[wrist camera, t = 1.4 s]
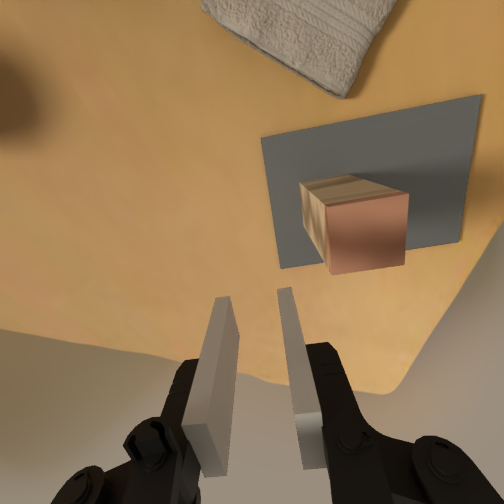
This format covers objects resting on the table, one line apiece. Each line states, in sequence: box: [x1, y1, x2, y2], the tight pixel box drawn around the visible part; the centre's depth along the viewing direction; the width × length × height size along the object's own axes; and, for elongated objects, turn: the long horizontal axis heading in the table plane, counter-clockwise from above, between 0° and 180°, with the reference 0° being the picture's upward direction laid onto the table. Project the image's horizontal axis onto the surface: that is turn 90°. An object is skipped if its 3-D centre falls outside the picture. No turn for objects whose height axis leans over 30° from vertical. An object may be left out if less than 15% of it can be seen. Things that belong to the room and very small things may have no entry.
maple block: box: [299, 174, 409, 275], centre depth 26 cm, size 6×6×14 cm
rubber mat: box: [261, 94, 482, 269], centre depth 33 cm, size 18×25×1 cm
